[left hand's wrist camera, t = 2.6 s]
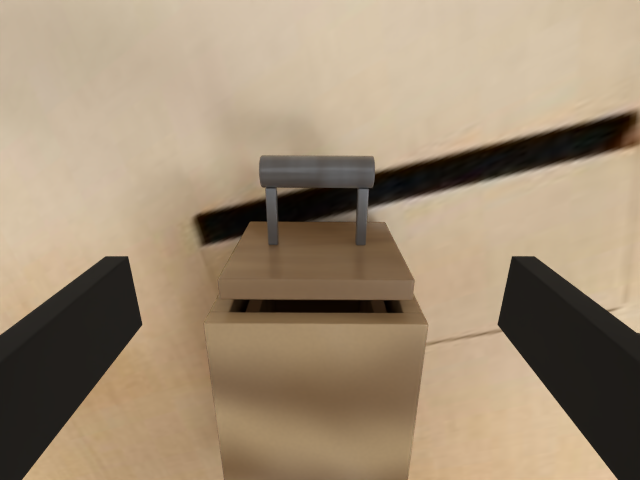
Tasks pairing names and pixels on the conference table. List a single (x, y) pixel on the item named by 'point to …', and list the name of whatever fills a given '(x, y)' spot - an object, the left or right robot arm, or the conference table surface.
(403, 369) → the cabinet
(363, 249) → the drawer
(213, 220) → the conference table surface
